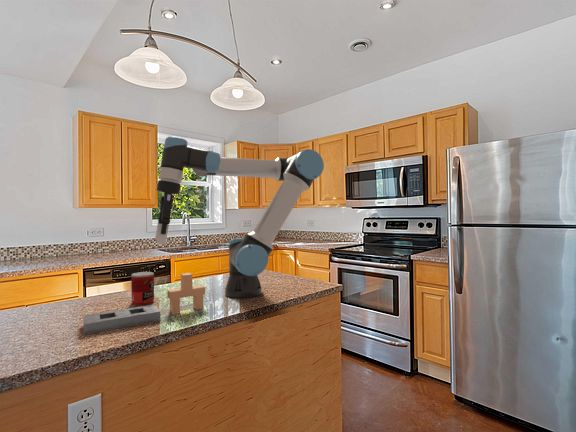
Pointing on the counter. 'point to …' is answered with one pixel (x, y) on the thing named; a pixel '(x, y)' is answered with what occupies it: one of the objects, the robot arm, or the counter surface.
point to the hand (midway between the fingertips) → (160, 242)
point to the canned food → (142, 288)
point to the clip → (186, 294)
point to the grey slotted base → (120, 319)
